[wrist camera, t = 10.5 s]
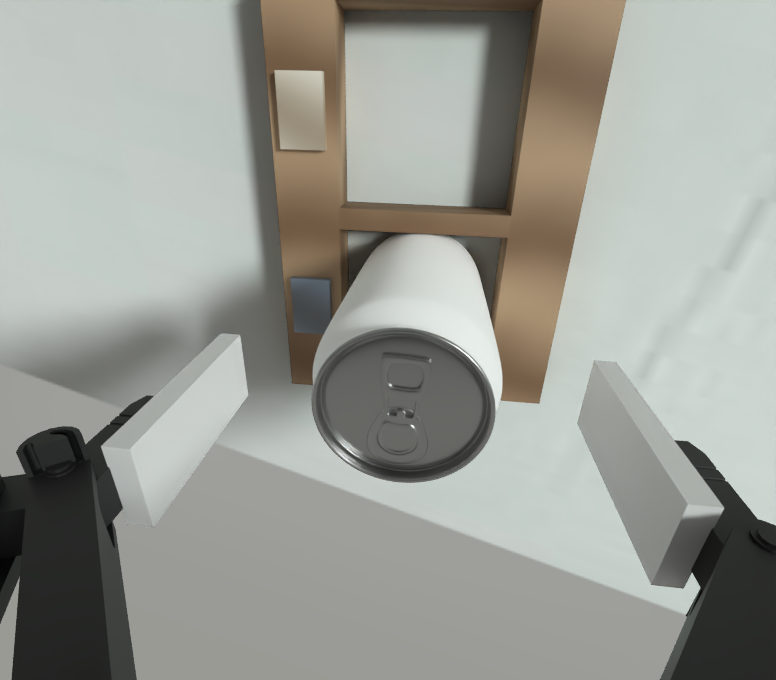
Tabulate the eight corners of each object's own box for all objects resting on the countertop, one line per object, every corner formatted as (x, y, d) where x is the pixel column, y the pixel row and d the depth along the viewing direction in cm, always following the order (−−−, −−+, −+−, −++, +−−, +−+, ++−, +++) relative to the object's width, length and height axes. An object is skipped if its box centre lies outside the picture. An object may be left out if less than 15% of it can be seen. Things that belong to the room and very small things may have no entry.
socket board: (275, -20, 19) (253, -39, 17) (613, -20, 17) (638, -40, 15) (302, 366, 27) (289, 387, 25) (532, 384, 26) (540, 407, 24)
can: (358, 332, 26) (298, 478, 15) (365, 220, 23) (295, 301, 12) (469, 345, 25) (489, 506, 14) (489, 233, 22) (533, 329, 12)
